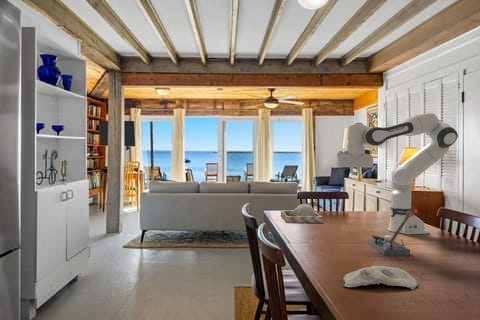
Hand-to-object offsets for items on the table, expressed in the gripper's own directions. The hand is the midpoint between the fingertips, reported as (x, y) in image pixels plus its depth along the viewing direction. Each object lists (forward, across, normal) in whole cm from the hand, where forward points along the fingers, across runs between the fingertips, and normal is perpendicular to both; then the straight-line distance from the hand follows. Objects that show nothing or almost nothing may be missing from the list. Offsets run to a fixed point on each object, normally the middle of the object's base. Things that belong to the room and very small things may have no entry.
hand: (354, 175), depth 207 cm
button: (+31, +8, -26) cm, 42 cm away
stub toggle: (+31, +10, -40) cm, 51 cm away
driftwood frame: (+34, -22, +46) cm, 61 cm away
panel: (+34, +6, -32) cm, 47 cm away
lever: (+31, +5, -36) cm, 47 cm away
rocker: (+30, +3, -26) cm, 40 cm away
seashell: (+34, -19, +47) cm, 61 cm away
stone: (+35, -17, -76) cm, 86 cm away
